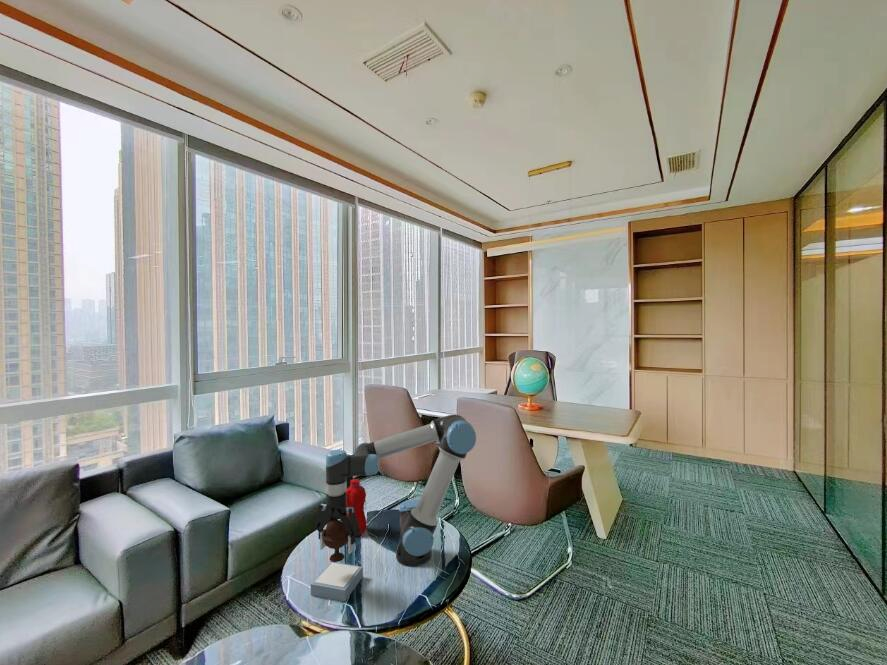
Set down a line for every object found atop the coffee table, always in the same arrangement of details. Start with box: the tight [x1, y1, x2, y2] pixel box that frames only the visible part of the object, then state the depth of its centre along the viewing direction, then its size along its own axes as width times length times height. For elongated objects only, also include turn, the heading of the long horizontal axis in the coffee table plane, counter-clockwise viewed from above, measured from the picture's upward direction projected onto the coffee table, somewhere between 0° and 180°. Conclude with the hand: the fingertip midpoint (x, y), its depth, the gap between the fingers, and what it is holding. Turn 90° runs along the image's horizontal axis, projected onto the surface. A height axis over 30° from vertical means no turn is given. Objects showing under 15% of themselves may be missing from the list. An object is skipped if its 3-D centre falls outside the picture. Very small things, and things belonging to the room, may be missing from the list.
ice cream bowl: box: [322, 518, 350, 563], centre depth 145 cm, size 11×11×15 cm
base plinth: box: [310, 561, 364, 602], centre depth 146 cm, size 14×14×4 cm
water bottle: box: [346, 478, 368, 537], centre depth 184 cm, size 9×11×25 cm
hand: (336, 549), depth 145 cm, fingers closed on ice cream bowl, 11 cm apart
